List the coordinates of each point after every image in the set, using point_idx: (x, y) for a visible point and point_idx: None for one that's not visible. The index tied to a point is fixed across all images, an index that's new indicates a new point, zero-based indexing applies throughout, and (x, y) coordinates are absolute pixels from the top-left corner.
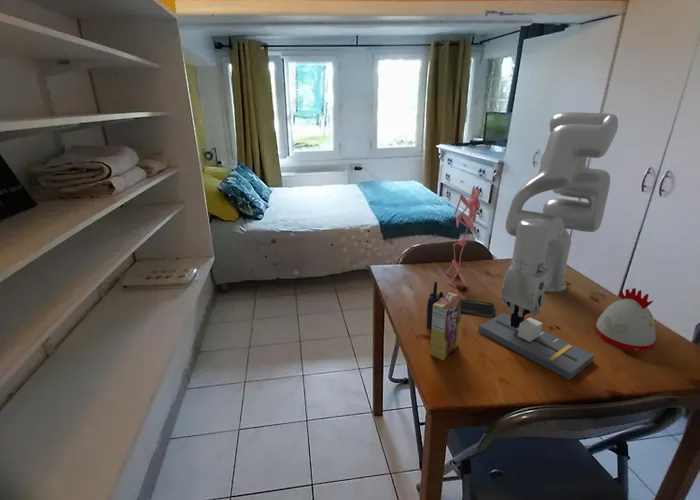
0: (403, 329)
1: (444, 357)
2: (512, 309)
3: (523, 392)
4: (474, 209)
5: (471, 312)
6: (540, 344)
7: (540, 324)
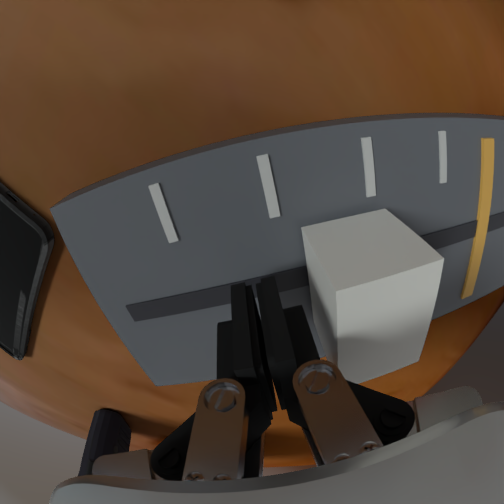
0: None
1: None
2: (250, 452)
3: (426, 379)
4: None
5: (30, 313)
6: None
7: (438, 285)
